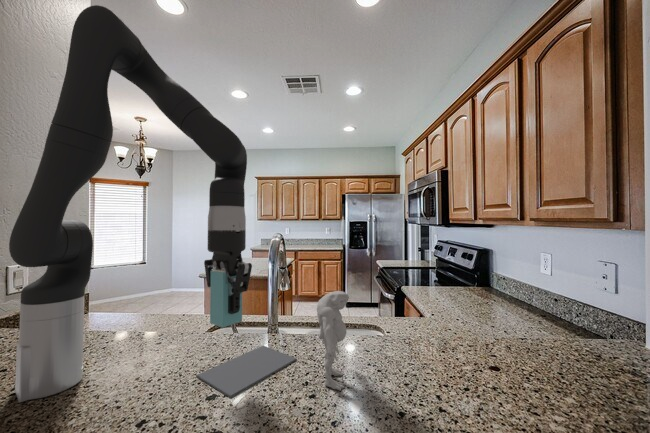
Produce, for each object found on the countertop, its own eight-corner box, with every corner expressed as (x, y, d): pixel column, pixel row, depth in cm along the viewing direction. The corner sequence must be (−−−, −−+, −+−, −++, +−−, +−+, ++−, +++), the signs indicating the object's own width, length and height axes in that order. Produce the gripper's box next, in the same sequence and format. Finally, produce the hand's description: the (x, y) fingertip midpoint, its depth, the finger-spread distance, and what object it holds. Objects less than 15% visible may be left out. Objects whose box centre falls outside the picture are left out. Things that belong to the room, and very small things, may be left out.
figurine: (354, 409, 48) (354, 304, 48) (316, 409, 47) (315, 304, 48) (346, 359, 65) (345, 283, 66) (317, 359, 65) (317, 283, 66)
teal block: (222, 327, 54) (223, 271, 55) (210, 323, 57) (210, 269, 57) (241, 321, 58) (242, 268, 58) (229, 317, 60) (229, 266, 61)
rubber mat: (230, 397, 51) (230, 395, 51) (196, 376, 58) (196, 375, 58) (296, 360, 65) (296, 358, 65) (263, 347, 72) (263, 345, 72)
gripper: (192, 228, 59) (191, 309, 59) (231, 228, 51) (231, 322, 50) (223, 228, 65) (222, 301, 65) (263, 228, 57) (263, 312, 56)
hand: (226, 310), depth 57 cm, fingers closed on teal block, 4 cm apart
